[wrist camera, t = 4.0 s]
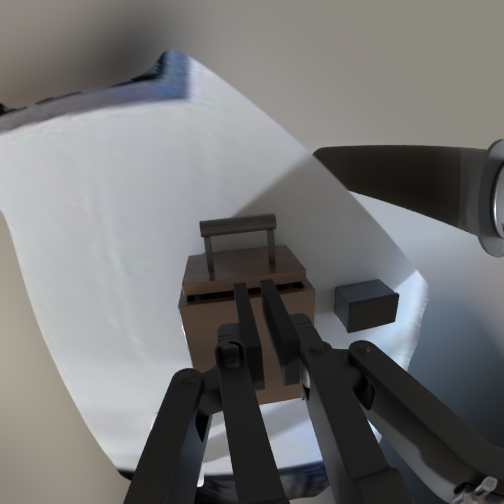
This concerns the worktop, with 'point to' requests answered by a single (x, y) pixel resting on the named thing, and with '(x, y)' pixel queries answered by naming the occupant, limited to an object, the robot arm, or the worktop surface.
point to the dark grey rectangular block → (365, 305)
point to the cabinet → (224, 312)
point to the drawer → (240, 261)
